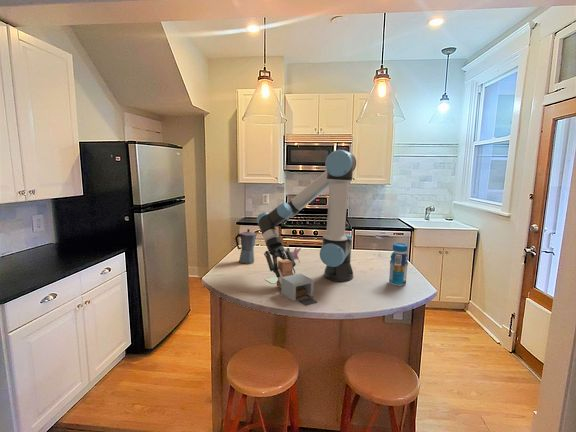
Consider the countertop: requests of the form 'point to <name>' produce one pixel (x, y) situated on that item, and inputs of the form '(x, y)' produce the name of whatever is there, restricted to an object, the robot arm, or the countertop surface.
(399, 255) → the beverage bottle
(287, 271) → the wooden pillar on base
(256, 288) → the countertop surface
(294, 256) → the lily
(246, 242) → the moka pot
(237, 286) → the countertop surface
